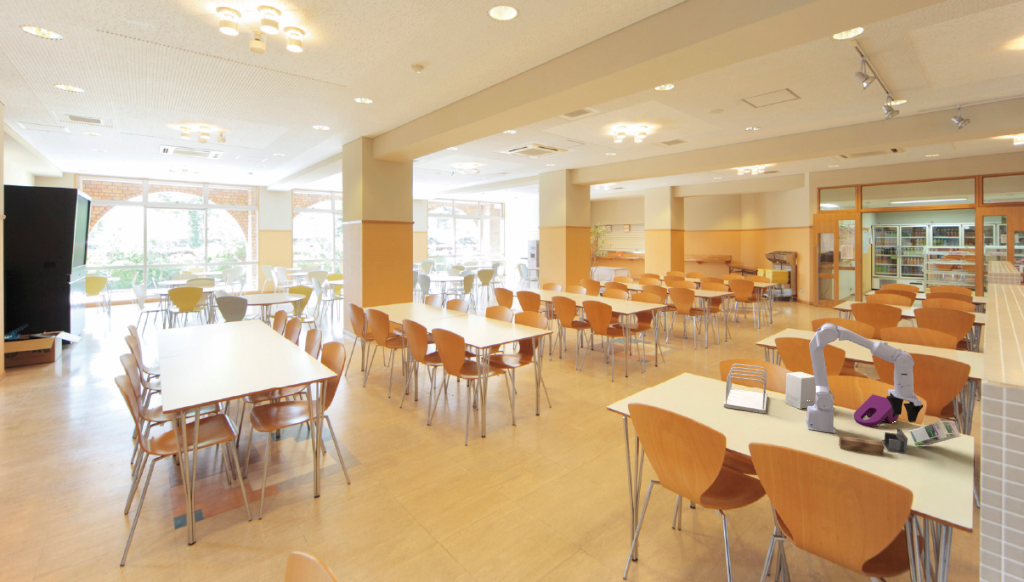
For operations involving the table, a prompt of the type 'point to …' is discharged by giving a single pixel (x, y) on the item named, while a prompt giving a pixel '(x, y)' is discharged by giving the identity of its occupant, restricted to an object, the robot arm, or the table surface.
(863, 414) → the mounting bracket
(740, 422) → the table surface
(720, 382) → the table surface
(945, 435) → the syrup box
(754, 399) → the file sorter
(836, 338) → the robot arm
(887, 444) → the bracket
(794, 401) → the supplement box
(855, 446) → the rail
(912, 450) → the table surface
